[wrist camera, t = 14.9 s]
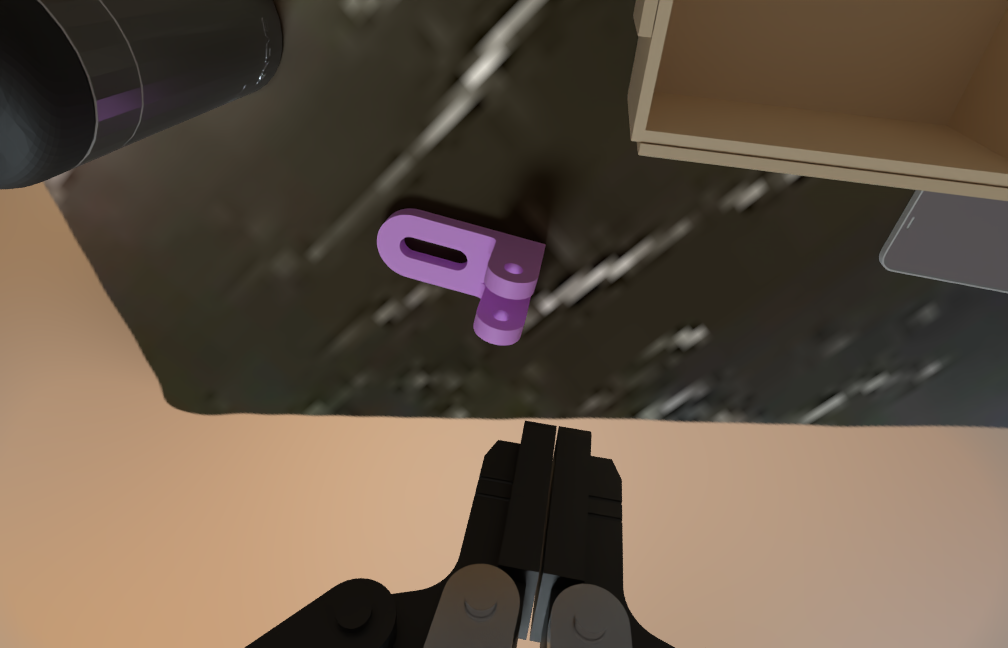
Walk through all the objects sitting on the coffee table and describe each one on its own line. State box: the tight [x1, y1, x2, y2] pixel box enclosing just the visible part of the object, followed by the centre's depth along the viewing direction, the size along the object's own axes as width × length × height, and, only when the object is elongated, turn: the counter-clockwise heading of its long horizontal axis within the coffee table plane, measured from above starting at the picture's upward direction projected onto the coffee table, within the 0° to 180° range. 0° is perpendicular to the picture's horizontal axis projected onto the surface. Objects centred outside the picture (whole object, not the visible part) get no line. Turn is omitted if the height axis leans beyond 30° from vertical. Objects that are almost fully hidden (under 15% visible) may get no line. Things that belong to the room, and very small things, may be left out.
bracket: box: [377, 208, 546, 345], centre depth 43 cm, size 13×6×7 cm, turn 78°
